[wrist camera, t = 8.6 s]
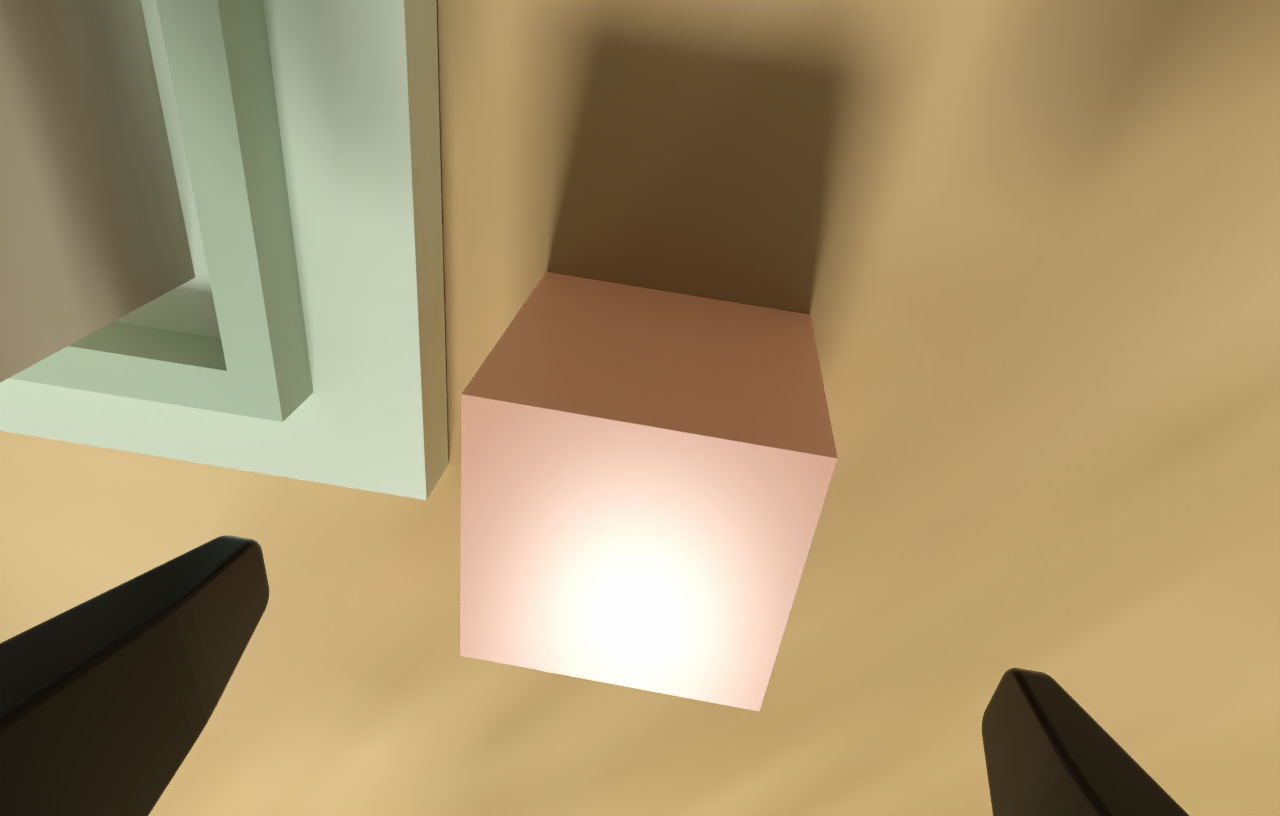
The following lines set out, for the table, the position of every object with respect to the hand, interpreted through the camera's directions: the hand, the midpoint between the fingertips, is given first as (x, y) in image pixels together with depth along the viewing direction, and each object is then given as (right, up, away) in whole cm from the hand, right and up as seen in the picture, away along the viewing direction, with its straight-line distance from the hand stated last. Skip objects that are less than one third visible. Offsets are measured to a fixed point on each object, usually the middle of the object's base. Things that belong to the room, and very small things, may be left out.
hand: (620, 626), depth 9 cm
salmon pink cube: (+1, +3, +5) cm, 6 cm away
